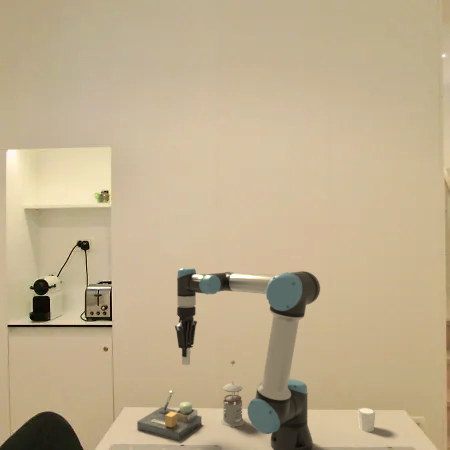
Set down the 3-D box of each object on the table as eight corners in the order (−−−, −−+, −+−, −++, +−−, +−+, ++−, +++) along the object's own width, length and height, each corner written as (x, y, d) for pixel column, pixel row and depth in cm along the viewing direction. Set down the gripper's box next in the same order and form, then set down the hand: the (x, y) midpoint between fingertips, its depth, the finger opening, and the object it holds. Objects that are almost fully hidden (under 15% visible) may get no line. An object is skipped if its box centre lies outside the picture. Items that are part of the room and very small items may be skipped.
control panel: (201, 423, 164) (201, 410, 164) (178, 440, 150) (179, 425, 150) (161, 413, 173) (162, 401, 174) (137, 429, 159) (137, 414, 160)
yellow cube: (177, 423, 157) (177, 413, 157) (171, 427, 154) (171, 416, 154) (171, 421, 158) (171, 411, 159) (165, 425, 155) (165, 415, 155)
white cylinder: (356, 430, 159) (355, 412, 159) (358, 423, 165) (358, 405, 165) (374, 433, 156) (374, 415, 156) (376, 426, 162) (376, 409, 162)
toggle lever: (168, 411, 169) (176, 392, 167) (164, 413, 167) (172, 393, 165) (163, 407, 170) (171, 388, 168) (160, 409, 168) (168, 390, 166)
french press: (218, 425, 163) (218, 362, 164) (225, 413, 174) (225, 355, 175) (242, 428, 160) (242, 364, 162) (247, 415, 172) (247, 356, 173)
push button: (194, 410, 164) (194, 403, 164) (187, 415, 160) (187, 407, 160) (184, 408, 166) (184, 401, 167) (177, 412, 162) (177, 405, 162)
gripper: (187, 303, 173) (187, 358, 172) (169, 307, 161) (168, 367, 160) (202, 304, 169) (202, 361, 168) (185, 309, 157) (184, 370, 156)
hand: (186, 364), depth 164 cm, fingers closed
